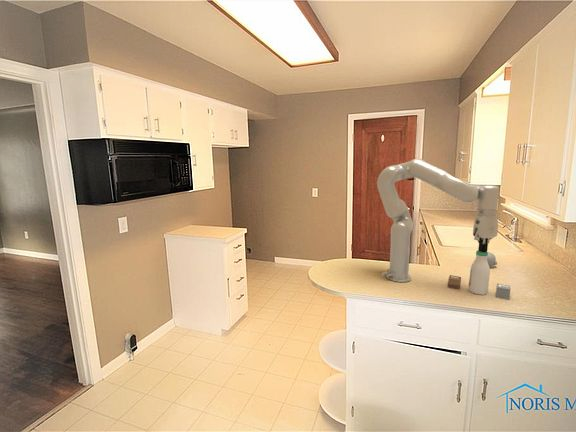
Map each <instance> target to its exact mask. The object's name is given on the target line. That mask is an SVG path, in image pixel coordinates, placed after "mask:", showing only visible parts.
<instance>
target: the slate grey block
mask: <svg viewBox="0 0 576 432" xmlns="http://www.w3.org/2000/svg"><path fill="white" fill-rule="evenodd" d="M510 297H511V285H508V284H503V283H498V282H497V283H496V289H495V298H499V299H503V300H506V301H507V300H510Z"/></svg>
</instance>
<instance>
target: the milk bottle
mask: <svg viewBox="0 0 576 432" xmlns="http://www.w3.org/2000/svg"><path fill="white" fill-rule="evenodd" d="M488 252H489V251H487V252H481V251H478V250H476V252H475V256H476V257H475V259H474V260H473V262H472V263H471V266H470V272H469V278H468V279H469V282H468V291H469V292H470V293H472V294H475V295H483V296H485V295H487V294H488V291H489V281H490V276H491V275H490V273H491V271H490V270H491V268H490V267H489V264H488V262H487V257H488Z"/></svg>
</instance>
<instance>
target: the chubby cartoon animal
mask: <svg viewBox="0 0 576 432" xmlns="http://www.w3.org/2000/svg"><path fill="white" fill-rule="evenodd" d="M487 252H488V257H487V262H488V264H489V267H490V269H492V268H494V267H495V266H496V265H498V262H497V259H496V256H495V254H494V253H493V252H490V251H487Z"/></svg>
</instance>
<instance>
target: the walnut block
mask: <svg viewBox="0 0 576 432" xmlns="http://www.w3.org/2000/svg"><path fill="white" fill-rule="evenodd" d="M461 282H462V276H457V275H452V274H449V276H448V280H447V289H453V290H458V291H460V289H461Z"/></svg>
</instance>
